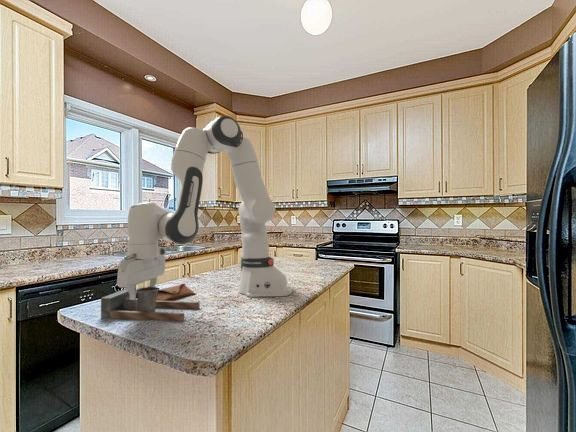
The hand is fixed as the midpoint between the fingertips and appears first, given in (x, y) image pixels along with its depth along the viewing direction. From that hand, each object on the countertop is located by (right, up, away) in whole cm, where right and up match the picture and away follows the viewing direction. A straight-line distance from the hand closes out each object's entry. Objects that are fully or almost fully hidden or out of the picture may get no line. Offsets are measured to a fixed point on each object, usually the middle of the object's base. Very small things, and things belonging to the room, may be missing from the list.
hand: (143, 294), depth 93 cm
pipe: (0, -6, -2) cm, 6 cm away
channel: (+3, -6, 0) cm, 7 cm away
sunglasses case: (+3, -6, +16) cm, 18 cm away
